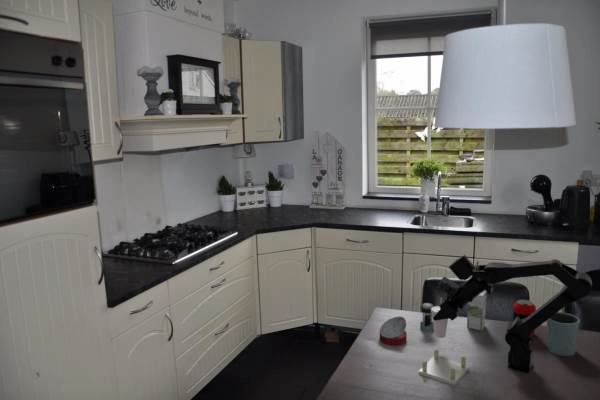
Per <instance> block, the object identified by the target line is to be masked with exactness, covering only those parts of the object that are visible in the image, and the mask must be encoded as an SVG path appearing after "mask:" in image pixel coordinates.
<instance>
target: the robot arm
mask: <svg viewBox="0 0 600 400" xmlns="http://www.w3.org/2000/svg"><path fill="white" fill-rule="evenodd" d="M448 269H449V270H450V271H451V272H452V274H454V275H455V277H457V278H458V279H459V280H460V281H465V282H464V283H460V284H457V283H456V282H455V281H453V280H451V279H450V278H448V277H447V276H443V277H442V278H441V279H440V281H439V283H438V285H437V289H438V290H439V291H442V292H444V293H447V294H446V299H444V300H442V302H441V301H440V303H439V305H438V306H439V307H440V308H441V309H440V310H439V311H438V313H437V314H436V315H435V316H434V317H433V318H432V320H433V319H434V320H435V321H436V320H442V319H448V320H451V321H452V322H453V321H455V320H456V319H457V318H458V315H459V314H460V310H463V308H464V307H465V306H466V305H468V303H469V302H472V301H473V299H474V298H475V297H477V296H478V295H479V294H481V293H482V292H483V291H486V293H488V294H489V295H491V294H492V292H493V291H494V289H493V288H494V285H495V284H500V283H503V282H507V281H509V280H512V279H519V278H528V277H529V278H530V277H539V276H542V277H543V276H553V277H555V278H556V279H557V280H559V282H561V283H562V284H563V285H564V286H562V288H561V289H560V290H559V291H558V292H557V293H556V294H554V296H552V297H551V298H550V299H548V300H547V301H546V302H545V303H543V304H542V305H541V306H540V307H538V308H536V311H534V312H533V313H532V314H531V315H529V316H528V317H527V318H525V319H520V318H519V317H517V318H516V319H515V320H514V321H513V320H512V321H511V322H509V323H508V325H507V327H506V331H505V336H504V340H505V342H506V344H507V345H508V346H509V350H508V352H507V364H508V365H507V368H508V369H511V370H515V371H519V372H522V373H525V374H529V373H530V372H531V371H532V369H533V367H534V364H533V355H534V354H533V353H534V350H533V349H532V346H533V338H531V337H530V335H531V334H532V332H533V331H534V330H535V331H536V330H537V329H538V328H539V327H540V326H542V325H543V324H544V323H545V322H547V320H548V319H549V318H551V317H552V316H553V315H555V314H556V313H557V312H560V311H561V310H563V309H564V308H565V307H566V306H567V305H569V304H572V303H574V302H578V301H580V300H583V299H584V298H586V297H588V296H589V295H590V294H592V290H593V282H592V277H590V275H589V274H587V273H584V272H579V271H578V270H576V269H575V268H573V267H571V266H568V265H567V264H564V263H563V262H562V261H560V260H559V259H551V260H543V261H534V262H533V261H532V262H523V263H513V264H512V263H506V262H496V261H495V262H494V261H493V262H488V263H487V264H475V265H474V264H473V263H472V262H471V261H470V260H469V258H468V257H467V256H466V255H465V254H464V255H462V256H461V257H458V258H457V259H455V260H454V261H453V262H452V263H451V264H450V265H449V266H448ZM466 280H467V281H466Z"/></svg>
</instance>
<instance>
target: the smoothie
mask: <svg viewBox="0 0 600 400" xmlns="http://www.w3.org/2000/svg"><path fill="white" fill-rule="evenodd" d="M441 302H443V297H440V303H441ZM433 306H434V305H433ZM440 309H441V308H440V307H439V305H435V306H434V307H432V308H431V313H432V321H433V327H434V330H433V333H434V335H433V336H434V337H435V338H438V339H442V338H445V337H446V335H447V329H448V324H449V323H448V322H449V319H442V320H436V321H435V320H434V319H433V317H434V316H435V315H436V314H437V313H438V311H439V310H440Z"/></svg>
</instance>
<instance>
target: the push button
mask: <svg viewBox="0 0 600 400" xmlns="http://www.w3.org/2000/svg"><path fill="white" fill-rule="evenodd" d="M419 307H420V311H421V312H422V320H421V321H420V324H419V325H420V329H421V331H434V327H433V318H432V313H431V308H432V307H434V305H433V303H430V302H424V303H423V304H422V305H420V306H419Z"/></svg>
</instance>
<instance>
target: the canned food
mask: <svg viewBox="0 0 600 400" xmlns="http://www.w3.org/2000/svg"><path fill="white" fill-rule="evenodd" d="M406 328H407V322H406V319H405V317H402V316H394V317H391V318H389V319H388V320H386V321H385V322H384V323H383V324H381V327H380V329H379V342H380V343H382V344H384V345H386V346H392V347H398V346H403V345H405V344H406V343H407V342H408V341H407V339H408V338H407V337H408V336H407V335H408V334H407V331H406Z"/></svg>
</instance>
